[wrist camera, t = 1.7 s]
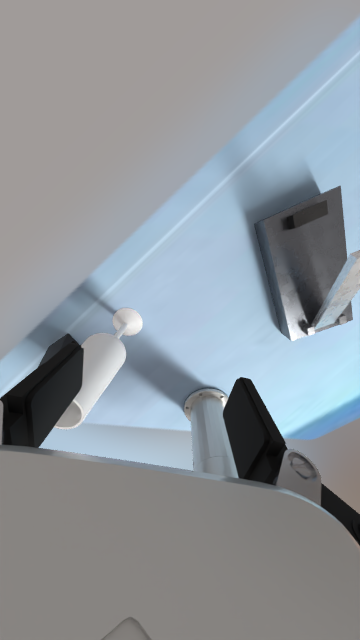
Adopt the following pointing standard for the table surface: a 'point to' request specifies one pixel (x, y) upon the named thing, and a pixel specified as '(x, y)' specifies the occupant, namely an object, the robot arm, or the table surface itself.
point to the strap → (340, 292)
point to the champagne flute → (100, 366)
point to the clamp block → (304, 260)
